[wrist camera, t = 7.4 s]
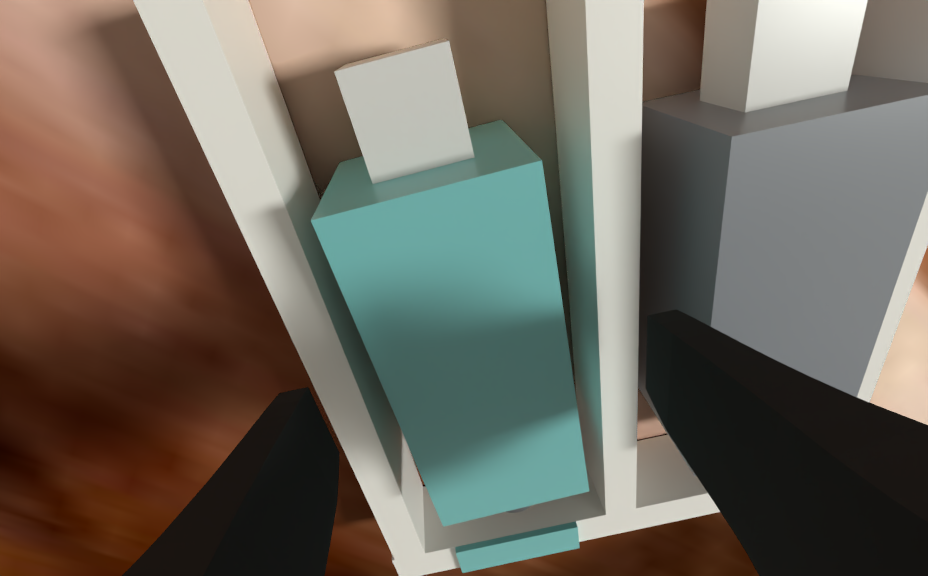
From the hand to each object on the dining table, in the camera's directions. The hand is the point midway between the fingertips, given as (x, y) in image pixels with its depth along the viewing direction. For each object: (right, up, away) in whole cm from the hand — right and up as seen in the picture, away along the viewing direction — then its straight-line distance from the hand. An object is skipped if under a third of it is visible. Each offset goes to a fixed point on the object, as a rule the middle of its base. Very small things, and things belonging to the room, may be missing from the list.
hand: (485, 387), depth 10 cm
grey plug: (+6, +3, +4) cm, 8 cm away
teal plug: (-1, +2, +4) cm, 4 cm away
